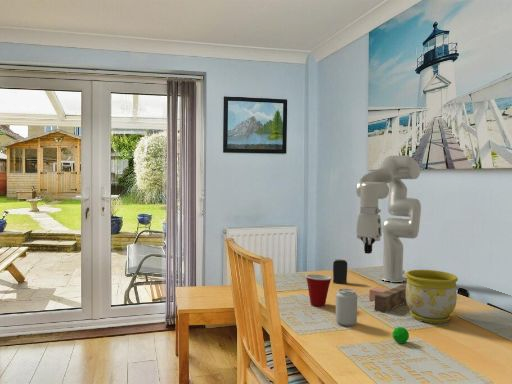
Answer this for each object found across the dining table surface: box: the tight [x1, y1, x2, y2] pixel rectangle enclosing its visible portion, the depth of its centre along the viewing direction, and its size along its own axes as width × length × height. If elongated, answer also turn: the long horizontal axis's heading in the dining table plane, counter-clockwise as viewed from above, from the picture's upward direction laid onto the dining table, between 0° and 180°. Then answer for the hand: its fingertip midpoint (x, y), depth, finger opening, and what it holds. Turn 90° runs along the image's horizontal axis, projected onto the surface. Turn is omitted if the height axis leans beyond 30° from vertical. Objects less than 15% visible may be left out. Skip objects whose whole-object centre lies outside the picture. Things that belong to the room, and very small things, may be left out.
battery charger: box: [332, 258, 348, 284], centre depth 216 cm, size 7×4×11 cm, turn 83°
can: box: [334, 288, 358, 327], centre depth 157 cm, size 8×8×12 cm
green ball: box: [392, 326, 410, 344], centre depth 140 cm, size 5×5×5 cm
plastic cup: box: [304, 273, 333, 308], centre depth 179 cm, size 11×11×12 cm
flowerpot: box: [405, 269, 459, 324], centre depth 164 cm, size 18×18×16 cm
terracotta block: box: [368, 286, 389, 302], centre depth 185 cm, size 6×8×5 cm
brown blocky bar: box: [374, 282, 407, 313], centre depth 181 cm, size 28×4×6 cm, turn 137°
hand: (368, 253), depth 191 cm, fingers closed
